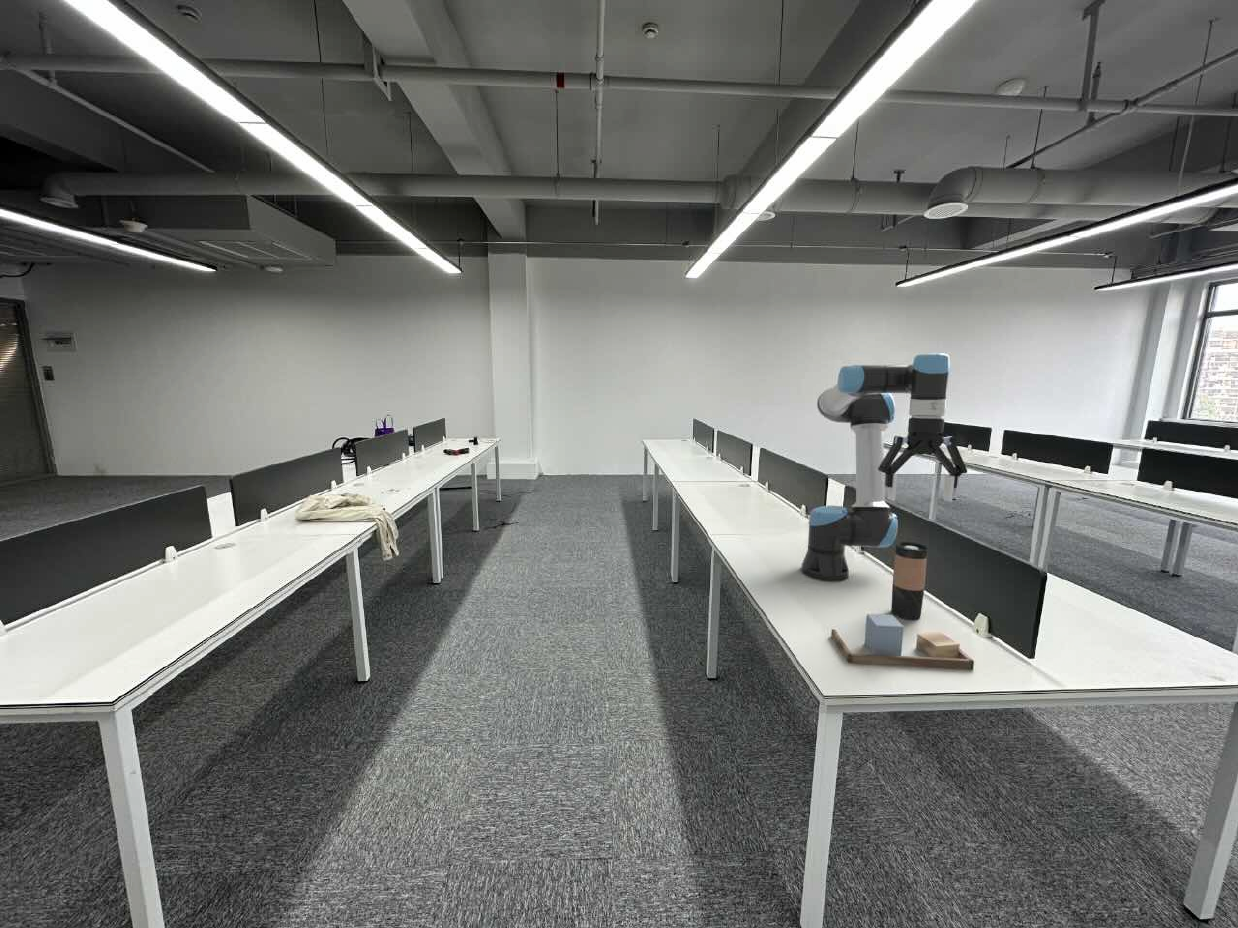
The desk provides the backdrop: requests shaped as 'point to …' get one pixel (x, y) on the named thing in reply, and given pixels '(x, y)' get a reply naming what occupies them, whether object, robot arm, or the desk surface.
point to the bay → (903, 658)
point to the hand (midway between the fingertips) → (919, 500)
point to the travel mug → (908, 580)
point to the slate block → (883, 635)
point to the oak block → (937, 645)
